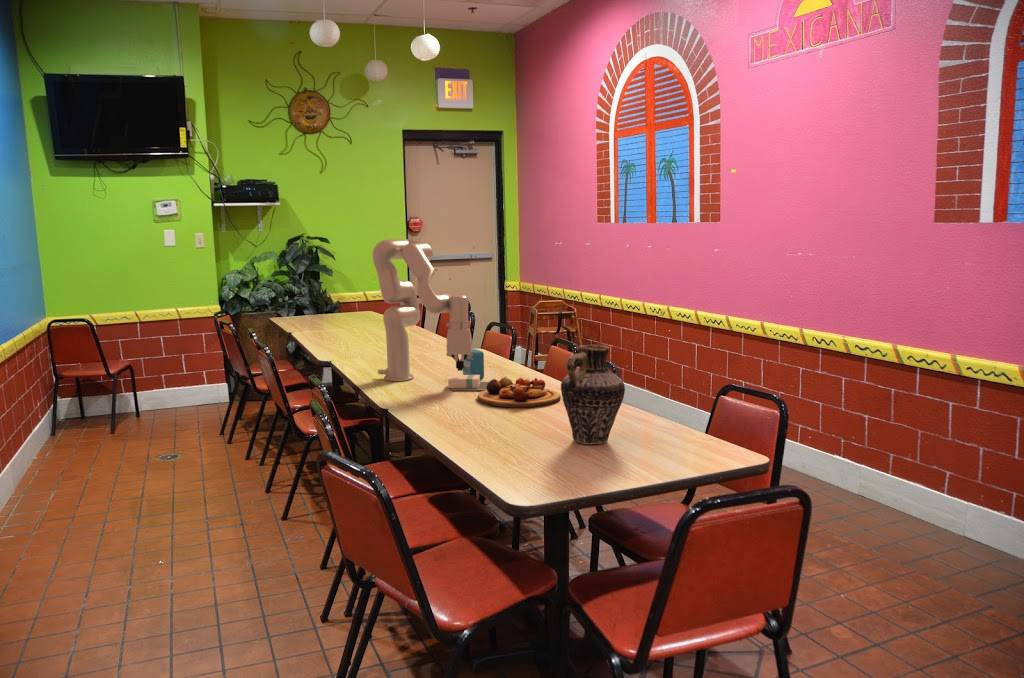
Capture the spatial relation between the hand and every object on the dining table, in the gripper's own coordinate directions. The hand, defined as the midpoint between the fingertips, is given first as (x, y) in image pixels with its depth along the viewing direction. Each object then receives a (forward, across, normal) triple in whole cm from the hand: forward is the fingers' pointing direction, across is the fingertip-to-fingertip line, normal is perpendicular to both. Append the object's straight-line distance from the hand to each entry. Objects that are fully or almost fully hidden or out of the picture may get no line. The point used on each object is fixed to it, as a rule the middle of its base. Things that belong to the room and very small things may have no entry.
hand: (460, 370), depth 331 cm
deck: (+5, -4, 0) cm, 6 cm away
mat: (+7, +7, 0) cm, 10 cm away
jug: (+7, +51, -80) cm, 95 cm away
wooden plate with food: (+8, +25, -21) cm, 34 cm away
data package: (+7, +3, +21) cm, 22 cm away
